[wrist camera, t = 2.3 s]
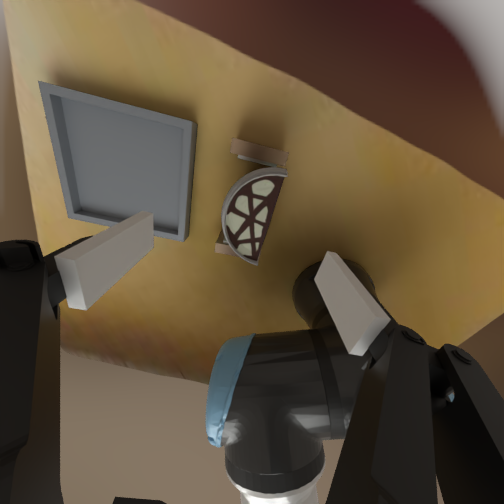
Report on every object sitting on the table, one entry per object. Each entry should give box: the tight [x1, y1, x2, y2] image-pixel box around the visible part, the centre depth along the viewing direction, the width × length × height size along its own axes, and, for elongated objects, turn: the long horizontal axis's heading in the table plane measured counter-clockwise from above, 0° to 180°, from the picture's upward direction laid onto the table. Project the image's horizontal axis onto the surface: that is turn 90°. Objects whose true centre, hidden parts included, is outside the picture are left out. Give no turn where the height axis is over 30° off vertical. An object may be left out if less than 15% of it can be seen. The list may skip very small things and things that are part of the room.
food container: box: [221, 167, 288, 266], centre depth 26 cm, size 12×6×10 cm, turn 165°
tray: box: [38, 81, 198, 242], centre depth 28 cm, size 18×17×2 cm
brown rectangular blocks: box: [215, 138, 289, 261], centre depth 29 cm, size 7×16×5 cm, turn 167°
